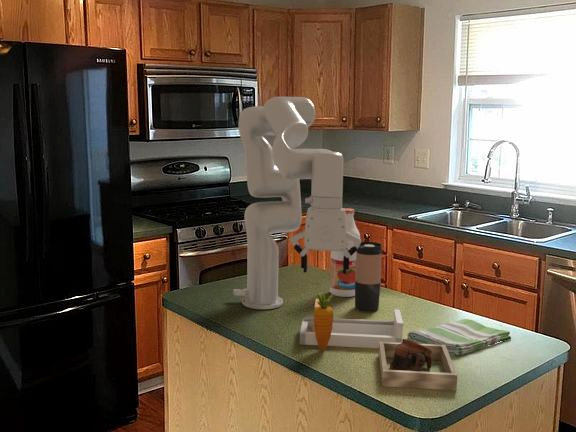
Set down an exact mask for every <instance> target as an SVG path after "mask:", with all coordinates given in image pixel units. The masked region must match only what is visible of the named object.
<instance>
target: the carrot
mask: <svg viewBox="0 0 576 432" xmlns="http://www.w3.org/2000/svg"><path fill="white" fill-rule="evenodd" d="M316 297H317V299H319V301H320V302H317V303H318V304H319V305H320V306H319V307H316V308H315V307H314V309H313V317H314V329H315V335H316V340H317V343H318V345H317V346H318V348H319V349H320V350H321V351H322V352H324V351H325V349H326V348H327V347H328V346H327V345H328V342H329V340H330V336H331V331H332V324H333V318H334V311H333V309H332V307H331V306H328V305H329V304H330V303H331V301H332V299H333V298H334V295H332V294H330V295H329V296H328V298H327V299H326V298H325V295H324V294H321V293H320V292H318V293H317V294H316Z"/></svg>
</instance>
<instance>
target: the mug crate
mask: <svg viewBox="0 0 576 432" xmlns="http://www.w3.org/2000/svg"><path fill="white" fill-rule="evenodd" d="M399 344H401V343H396V342H379V348H378V359H379V369H380V376H381V385H382V387H387V388H388V387H389V388H391V387H392V388H407V389H421V390H422V389H423V390H424V389H425V390H442V391H443V390H444V391H457V390H458V389H457V388H458V386H457V385H458V373H457V371H456V368H455V365H454V363H453V361H452V358H451V355H449V353H448V350H447V348H446V345H435V344H421V343H419V344H420V345H422V346H424V347H426V348H428V349H430V350H431V351H432V353H431V358H432V359H431V360H433V361H434V360H437V361H440V362H441V364H442V367H443V369H444V372H437V371H436V372H435V371H422V370H421V371H409V370H408V371H403V370H389V369H388V366H387V365H388V363H387V358H394V354H395V353H396V352H395V348H396V347H397V346H398V345H399ZM409 358H412V357H411V355H410V354H409Z"/></svg>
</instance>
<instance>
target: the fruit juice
mask: <svg viewBox="0 0 576 432" xmlns="http://www.w3.org/2000/svg"><path fill="white" fill-rule="evenodd" d="M344 209H345V213H346V222H347V232H349V233H350V234H352V235H354V236H356V237H358V238H359V239H361V233H360V231H359V229H358V227H357V225H356V222H355V219H354V216H355V213H356V212H355V209H354V208H350V207H349V208H348V207H347V208H346V207H344ZM353 245H354V242H353V241H351V240H349V239H348V238H347V244H346V247H347V249H348V250H349V249H350V248H351V247H353ZM343 257H344V254H343V253H342V252H341V251H330V276H329V277H330V278H329V292H330V295H333V296H334V297H335V296H336V297H340V298H351V297H355V272H356V252H355V253H354V254H353V255H352V256H350V258H349V270H346V274H344V273H343Z"/></svg>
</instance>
